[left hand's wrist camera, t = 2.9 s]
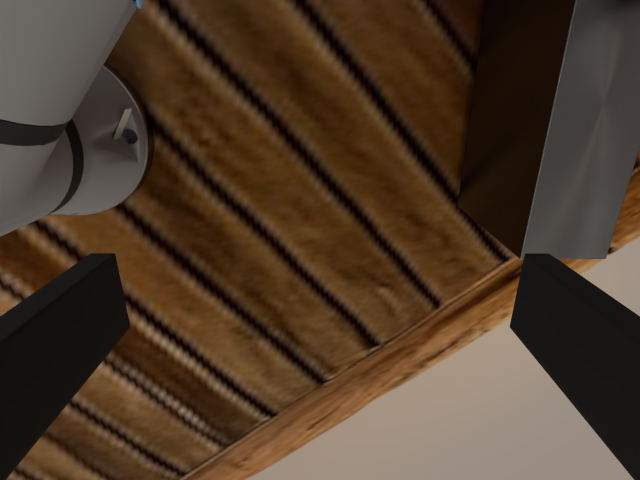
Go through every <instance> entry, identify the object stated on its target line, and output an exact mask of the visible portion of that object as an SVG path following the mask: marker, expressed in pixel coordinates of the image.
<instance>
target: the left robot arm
mask: <svg viewBox="0 0 640 480" xmlns="http://www.w3.org/2000/svg"><path fill="white" fill-rule="evenodd" d="M143 4H144V0H0V236H2V235H5V234H7V233H9V232H11V231H13V230H16V229H18V228H20V227H22V226H24V225H27V224H29V223H31V222H33V221H36V220H38V219H40V218H42V217H44V216H46V215H49V214H66V215H87V214H94V213H99V212H103V211H106V210H108V209H111V208H113V207H115V206H116V205H118V204H120V203H122V202H124V201H125V200H127V199H128V198H130V197H131V196H132V195H133V194H134V193H135V192H136V191H137V190H138V189H139V188H140V187H141V185H142V184H143V182H144V181H145V179H146V177H147V175H148V172H149V170H150V166H151V163H152V158H153V135H152V129H151V125H150V121H149V118H148V115H147V113H146V110H145V108H144V106H143V104H142V102H141V100H140V98H139V97H138V95H137V94H136V92H135V91H134V89H133V88H132V87H131V85H130V84H129V83H128V82H127V81H126V79H125V78H124V77H123V76H122V75H121V74H120V73H119V72H117V71H116V70H115V69H114V68H113V67H111V66H110V65H109V64H107V63H106V62H105V61H106V59H107V58H108V56H109V54H110V53H111V51H112V49H113V48H114V46H115V44H116V43H117V41H118V39H119V38H120V36H121V34H122V33H123V31H124V29H125V28H126V26H127V24H128V22H129V21H130V19H131V17H132V16H133V14H134V12H135V11H136V9H137V8H138V9H141V7H142V6H143ZM129 328H130V323H129V319H128V314H127V309H126V304H125V299H124V294H123V290H122V285H121V280H120V275H119V270H118V266H117V261H116V256H115V253H91V254H90V255H88V256H87V257H85V258H84V259H82V260H81V261H80V262H78V263H77V264H75V265H74V266H72V267H71V268H69V269H68V270H67V271H65V272H64V273H62V274H61V275H59V276H58V277H57V278H55V279H54V280H52V281H51V282H49V283H48V284H46V285H45V286H44V287H42V288H41V289H39V290H38V291H36V292H35V293H33V294H32V295H31V296H29V297H28V298H26V299H25V300H23V301H22V302H21V303H19V304H18V305H16V306H15V307H13V308H12V309H10V310H9V311H8V312H6V313H5V314H3V315H2V316H0V480H6V479H7V477H8V476H9V475H10V474H11V473H12V471H13V470H14V469H15V468H16V466H17V465H18V464H19V463H20V461H21V460H22V459H23V458H24V457H25V455H26V454H27V453H28V452H29V450H30V449H31V448H32V447H33V446H34V444H35V443H36V442H37V441H38V439H39V438H40V437H41V436H42V435H43V433H44V432H45V431H46V430H47V428H48V427H49V426H50V425H51V423H52V422H53V421H54V420H55V419H56V417H57V416H58V415H59V414H60V412H61V411H62V410H63V409H64V408H65V406H66V405H67V404H68V403H69V401H70V400H71V399H72V398H73V397H74V395H75V394H76V393H77V392H78V390H79V389H80V388H81V387H82V385H83V384H84V383H85V382H86V381H87V379H88V378H89V377H90V376H91V374H92V373H93V372H94V371H95V370H96V368H97V367H98V366H99V365H100V363H101V362H102V361H103V360H104V359H105V357H106V356H107V355H108V354H109V352H110V351H111V350H112V349H113V347H114V346H115V345H116V344H117V343H118V341H119V340H120V339H121V338H122V336H123V335H124V334H125V333H126V332H127V330H128V329H129ZM510 328H511V329H512V330H513V332H514V333H515V334H516V335H517V336H518V338H519V339H520V340H521V341H522V343H523V344H524V345H525V346H526V347H527V349H528V350H529V351H530V352H531V354H532V355H533V356H534V357H535V359H536V360H537V361H538V362H539V363H540V365H541V366H542V367H543V368H544V370H545V371H546V372H547V373H548V374H549V376H550V377H551V378H552V379H553V381H554V382H555V383H556V384H557V385H558V387H559V388H560V389H561V390H562V392H563V393H564V394H565V395H566V397H567V398H568V399H569V400H570V401H571V403H572V404H573V405H574V406H575V408H576V409H577V410H578V411H579V412H580V414H581V415H582V416H583V417H584V419H585V420H586V421H587V422H588V423H589V425H590V426H591V427H592V428H593V430H594V431H595V432H596V433H597V434H598V436H599V437H600V438H601V439H602V441H603V442H604V443H605V444H606V446H607V447H608V448H609V449H610V450H611V452H612V453H613V454H614V455H615V457H616V458H617V459H618V460H619V461H620V463H621V464H622V465H623V466H624V468H625V469H626V470H627V471H628V473H629V474H630V475H631V476H632V477H633V479H634V480H640V316H638V315H637V314H635V313H634V312H632V311H631V310H630V309H628V308H627V307H625V306H624V305H622V304H621V303H619V302H618V301H617V300H615V299H614V298H612V297H611V296H609V295H608V294H607V293H605V292H604V291H602V290H601V289H599V288H598V287H596V286H595V285H594V284H592V283H591V282H589V281H588V280H586V279H585V278H583V277H582V276H581V275H579V274H578V273H576V272H575V271H573V270H572V269H571V268H569V267H568V266H566V265H565V264H563V263H562V262H560V261H559V260H558V259H556V258H555V257H553V256H552V255H550V254H549V253H525V256H524V261H523V266H522V270H521V275H520V280H519V285H518V290H517V294H516V299H515V304H514V309H513V314H512V319H511V323H510Z"/></svg>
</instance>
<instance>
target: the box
mask: <svg viewBox="0 0 640 480" xmlns="http://www.w3.org/2000/svg"><path fill="white" fill-rule="evenodd" d="M639 148H640V0H540V1H527V0H486V6H485V13H484V20H483V27H482V35H481V42H480V49H479V56H478V63H477V71H476V78H475V85H474V92H473V99H472V107H471V114H470V121H469V128H468V135H467V143H466V150H465V157H464V164H463V171H462V178H461V186H460V193H459V200H458V207H460V208H461V209H462V210H463V211H464V212H465V213H467V214H468V215H469V216H470V217H471V218H473V219H474V220H475V221H476V222H477V223H478V224H480V225H481V226H482V227H483V228H484V229H486V230H487V231H488V232H489V233H490V234H491V235H493V236H494V237H495V238H496V239H497V240H499V241H500V242H501V243H502V244H503V245H504V246H506V247H507V248H508V249H509V250H510V251H512V252H513V253H514V254H515V255H516V256H518V257H519V258H520V259H524V256H525V253H549V254H550V255H552V256H553V257H555V258H556V259H605V258H606V256H607V253H608V249H609V246H610V243H611V239H612V236H613V233H614V230H615V226H616V223H617V220H618V217H619V213H620V210H621V207H622V203H623V200H624V197H625V194H626V190H627V187H628V184H629V180H630V177H631V174H632V171H633V167H634V164H635V161H636V157H637V154H638V151H639Z"/></svg>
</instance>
